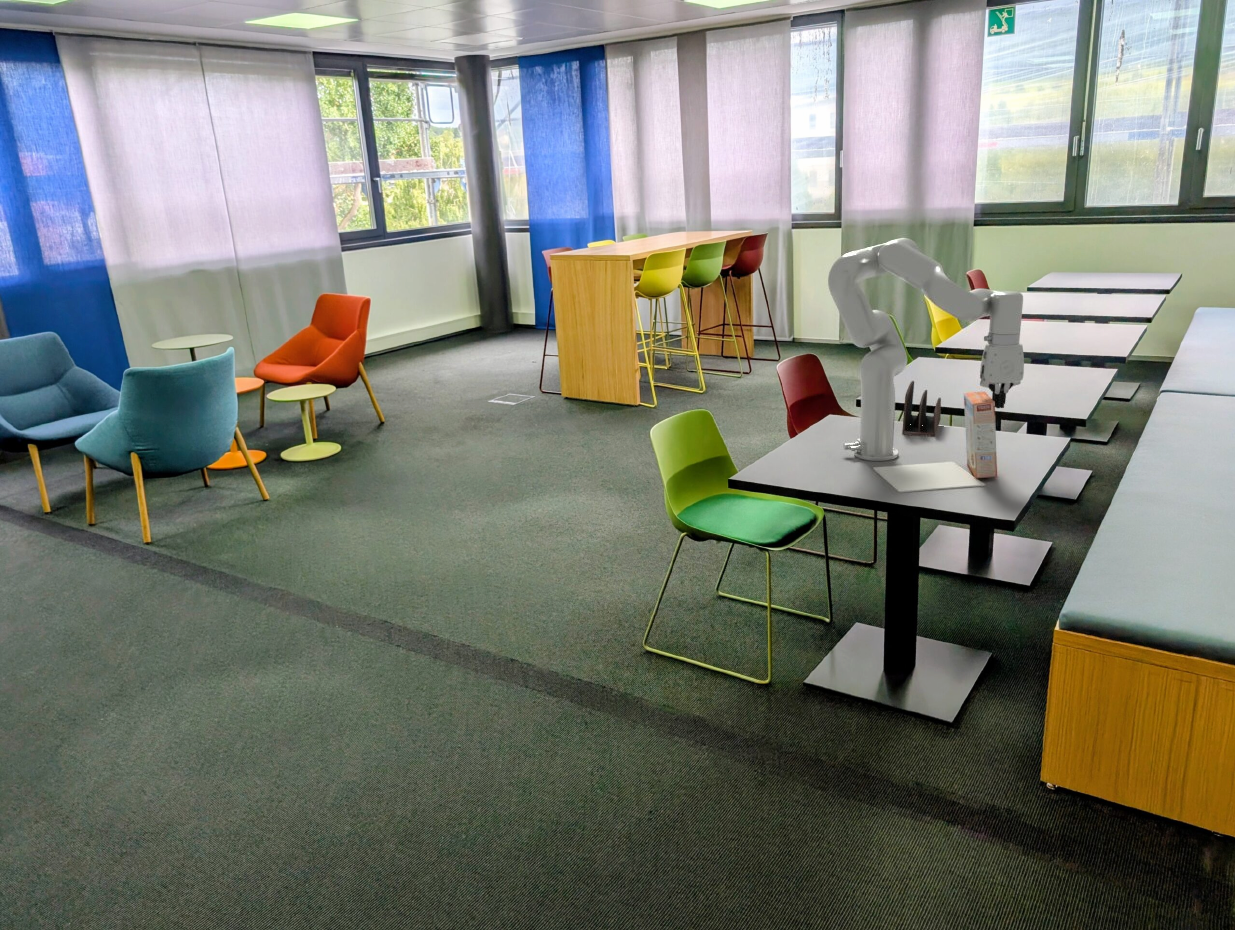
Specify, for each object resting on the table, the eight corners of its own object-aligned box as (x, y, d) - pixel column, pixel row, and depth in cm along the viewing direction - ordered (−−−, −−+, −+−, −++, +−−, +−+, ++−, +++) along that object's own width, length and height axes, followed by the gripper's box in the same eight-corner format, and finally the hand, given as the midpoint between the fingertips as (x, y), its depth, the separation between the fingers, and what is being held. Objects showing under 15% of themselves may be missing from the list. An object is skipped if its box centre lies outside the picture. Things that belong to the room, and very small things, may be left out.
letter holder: (901, 435, 288) (903, 391, 283) (909, 418, 305) (911, 377, 301) (935, 437, 284) (937, 393, 279) (940, 420, 301) (943, 378, 297)
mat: (899, 492, 239) (899, 491, 238) (873, 468, 258) (873, 467, 257) (984, 486, 240) (984, 484, 240) (952, 462, 259) (952, 461, 259)
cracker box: (999, 477, 242) (995, 401, 237) (975, 479, 244) (971, 403, 238) (989, 462, 255) (985, 390, 250) (966, 464, 257) (962, 392, 251)
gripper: (982, 343, 234) (977, 412, 240) (1038, 340, 235) (1032, 408, 241) (969, 338, 241) (964, 405, 247) (1024, 334, 242) (1018, 401, 248)
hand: (998, 406), depth 244 cm, fingers closed
